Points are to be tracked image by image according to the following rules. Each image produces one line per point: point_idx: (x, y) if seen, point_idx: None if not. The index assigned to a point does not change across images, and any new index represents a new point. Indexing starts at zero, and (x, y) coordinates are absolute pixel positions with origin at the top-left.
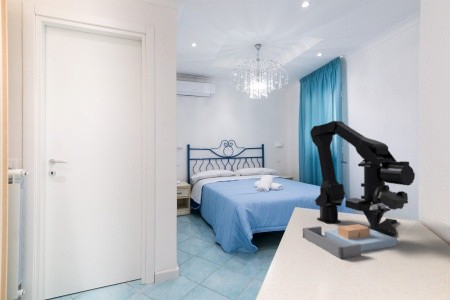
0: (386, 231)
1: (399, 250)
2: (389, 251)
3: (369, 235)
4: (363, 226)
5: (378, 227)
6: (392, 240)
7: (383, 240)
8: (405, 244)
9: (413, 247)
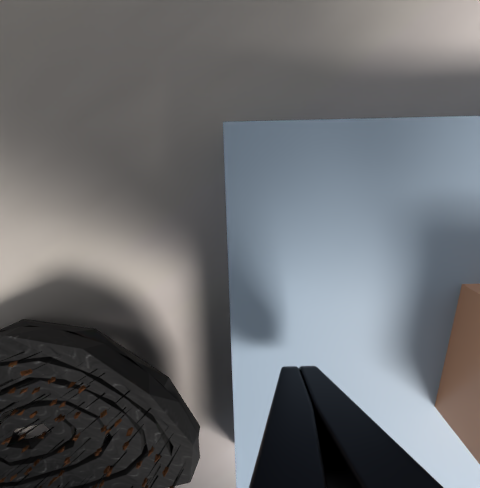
0: (110, 349)
1: (339, 10)
2: (467, 24)
3: (475, 287)
4: None
5: (21, 477)
6: (305, 122)
7: (465, 123)
8: (116, 121)
9: (105, 26)
